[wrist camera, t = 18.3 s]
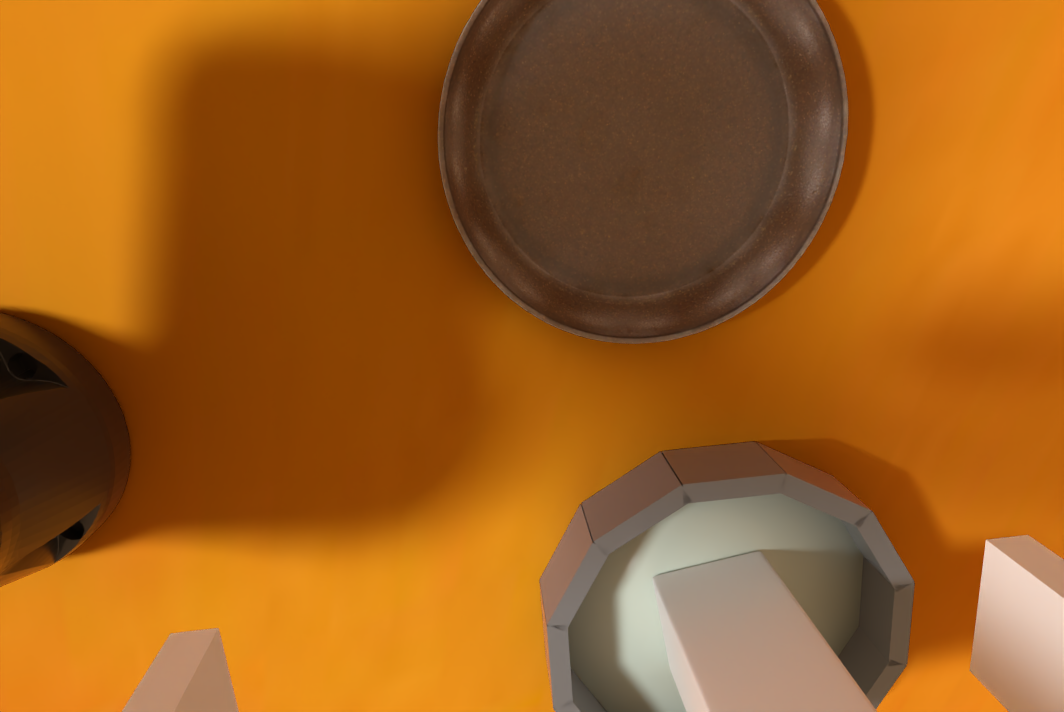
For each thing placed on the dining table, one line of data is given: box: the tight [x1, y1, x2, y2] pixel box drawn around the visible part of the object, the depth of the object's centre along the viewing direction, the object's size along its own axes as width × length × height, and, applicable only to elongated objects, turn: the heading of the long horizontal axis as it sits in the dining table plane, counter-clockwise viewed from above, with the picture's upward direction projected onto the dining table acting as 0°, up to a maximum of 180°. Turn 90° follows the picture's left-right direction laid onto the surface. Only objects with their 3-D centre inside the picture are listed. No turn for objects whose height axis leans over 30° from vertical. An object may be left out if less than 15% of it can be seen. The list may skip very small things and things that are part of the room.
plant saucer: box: [438, 0, 848, 344], centre depth 36 cm, size 21×21×3 cm
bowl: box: [540, 441, 915, 712], centre depth 44 cm, size 22×22×4 cm
